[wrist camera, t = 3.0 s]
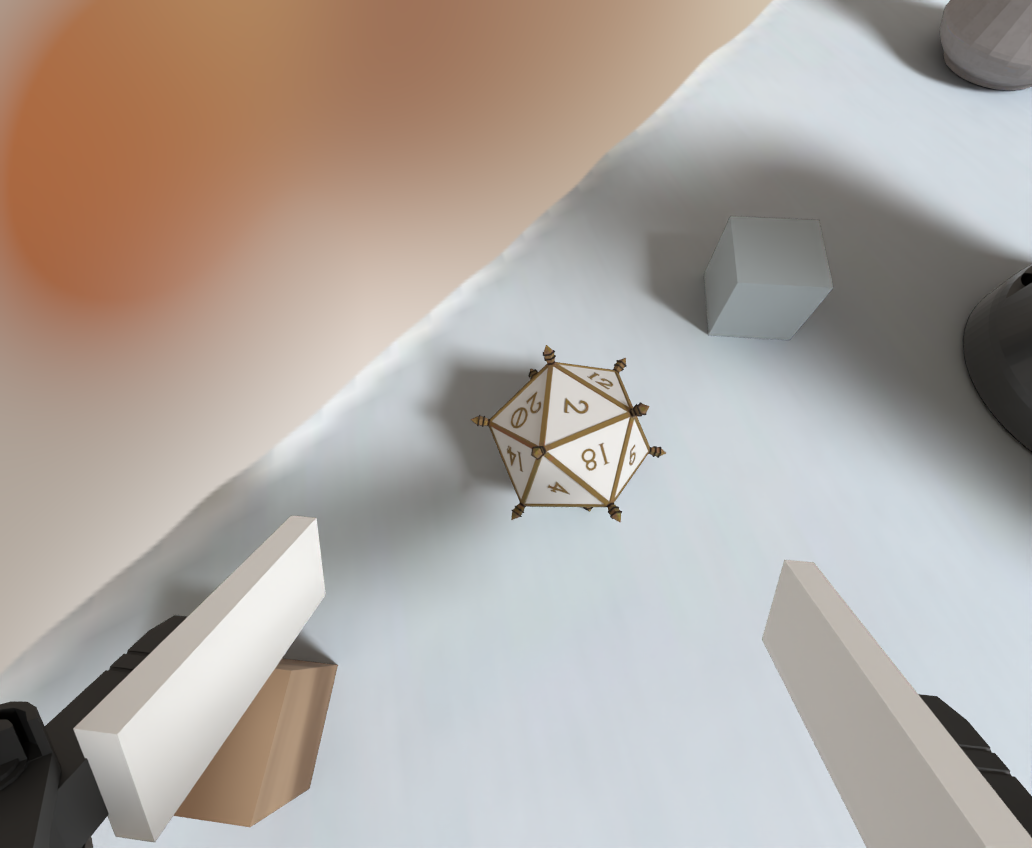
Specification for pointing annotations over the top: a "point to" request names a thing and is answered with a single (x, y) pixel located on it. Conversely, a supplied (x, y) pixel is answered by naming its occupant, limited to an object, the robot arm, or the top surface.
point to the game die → (570, 437)
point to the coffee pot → (989, 42)
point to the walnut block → (266, 749)
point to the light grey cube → (766, 277)
